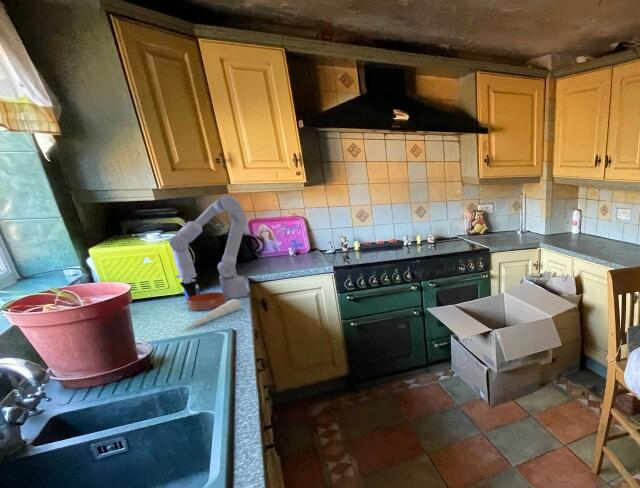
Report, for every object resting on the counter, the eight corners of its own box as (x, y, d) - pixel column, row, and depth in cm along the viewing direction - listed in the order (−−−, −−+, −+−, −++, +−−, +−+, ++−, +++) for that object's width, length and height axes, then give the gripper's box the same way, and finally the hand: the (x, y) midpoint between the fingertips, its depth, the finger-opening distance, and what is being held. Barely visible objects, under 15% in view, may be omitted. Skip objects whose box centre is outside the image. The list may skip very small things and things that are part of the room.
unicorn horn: (177, 329, 151) (173, 317, 150) (234, 309, 173) (231, 297, 171) (187, 330, 150) (183, 318, 149) (243, 310, 172) (240, 298, 170)
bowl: (226, 299, 184) (224, 290, 183) (226, 307, 174) (224, 298, 173) (190, 304, 178) (187, 295, 176) (188, 313, 168) (185, 303, 166)
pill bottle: (194, 304, 178) (188, 282, 175) (184, 303, 179) (177, 281, 176) (205, 300, 183) (199, 278, 180) (195, 299, 184) (189, 278, 181)
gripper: (174, 262, 179) (183, 293, 184) (170, 269, 168) (180, 301, 173) (194, 260, 183) (202, 290, 188) (192, 267, 171) (201, 298, 176)
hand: (193, 295), depth 180 cm, fingers open, 6 cm apart
